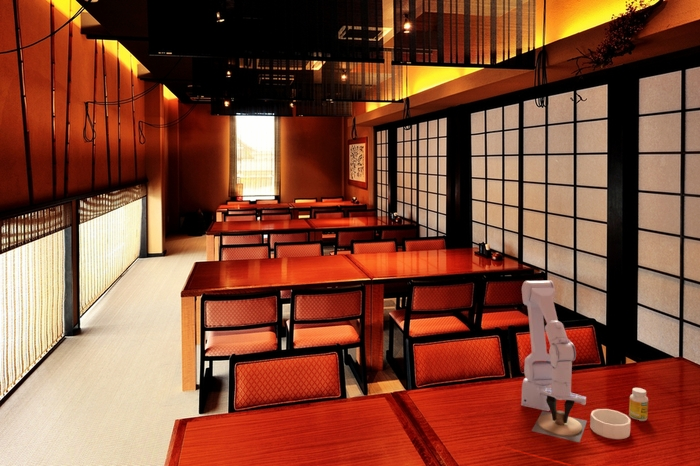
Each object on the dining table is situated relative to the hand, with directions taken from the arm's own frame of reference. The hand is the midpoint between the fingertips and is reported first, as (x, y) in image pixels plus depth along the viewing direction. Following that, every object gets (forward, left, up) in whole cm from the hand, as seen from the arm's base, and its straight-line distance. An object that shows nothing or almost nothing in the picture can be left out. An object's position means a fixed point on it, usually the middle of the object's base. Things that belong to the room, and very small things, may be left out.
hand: (560, 420), depth 166 cm
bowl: (+14, +5, -2) cm, 15 cm away
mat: (0, 0, -2) cm, 2 cm away
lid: (0, 0, -2) cm, 2 cm away
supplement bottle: (+21, +20, -2) cm, 29 cm away
